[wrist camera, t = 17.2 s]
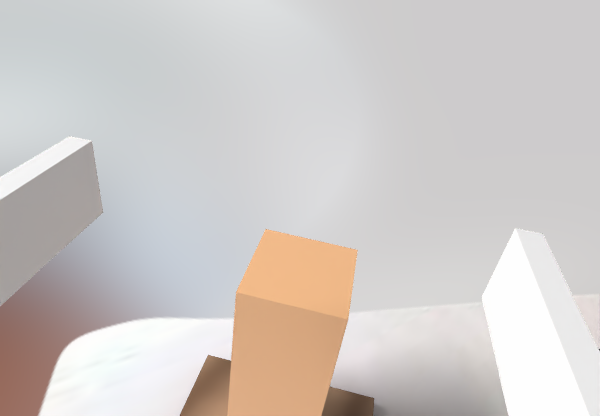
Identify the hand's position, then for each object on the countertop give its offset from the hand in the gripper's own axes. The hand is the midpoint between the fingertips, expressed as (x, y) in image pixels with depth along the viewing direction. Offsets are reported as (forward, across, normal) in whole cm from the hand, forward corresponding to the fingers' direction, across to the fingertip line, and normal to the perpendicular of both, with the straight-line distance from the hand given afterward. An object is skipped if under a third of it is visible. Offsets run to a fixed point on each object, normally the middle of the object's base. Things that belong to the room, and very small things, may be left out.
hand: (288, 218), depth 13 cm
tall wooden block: (+8, 0, -27) cm, 29 cm away
